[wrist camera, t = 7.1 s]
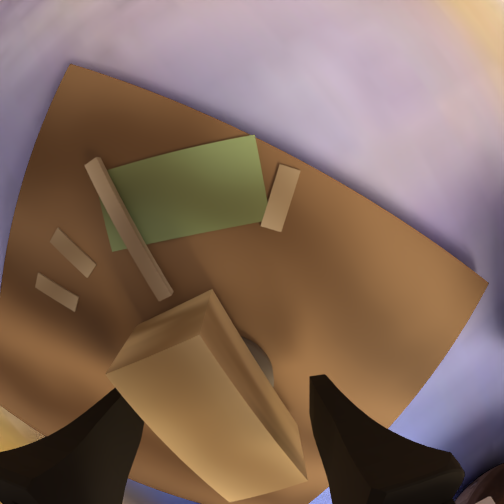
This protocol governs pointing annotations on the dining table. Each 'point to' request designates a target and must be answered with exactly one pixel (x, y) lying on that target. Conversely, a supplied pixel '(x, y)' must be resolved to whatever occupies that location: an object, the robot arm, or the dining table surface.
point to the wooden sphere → (485, 488)
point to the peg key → (202, 382)
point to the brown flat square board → (212, 271)
